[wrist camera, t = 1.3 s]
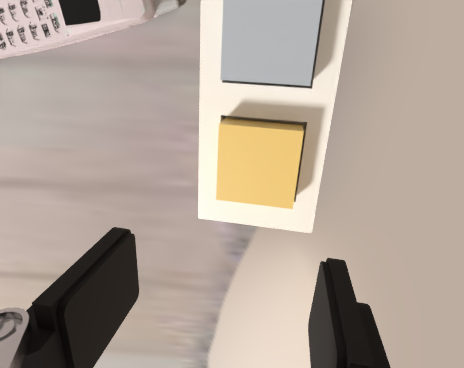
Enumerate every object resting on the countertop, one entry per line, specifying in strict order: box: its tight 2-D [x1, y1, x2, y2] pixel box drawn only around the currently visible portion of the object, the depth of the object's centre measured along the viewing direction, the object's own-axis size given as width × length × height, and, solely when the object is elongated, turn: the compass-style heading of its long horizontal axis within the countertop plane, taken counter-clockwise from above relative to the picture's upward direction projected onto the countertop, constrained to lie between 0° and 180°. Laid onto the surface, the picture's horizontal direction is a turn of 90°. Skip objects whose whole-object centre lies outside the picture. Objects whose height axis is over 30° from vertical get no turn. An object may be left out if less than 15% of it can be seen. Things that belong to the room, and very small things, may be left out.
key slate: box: [220, 0, 323, 86], centre depth 20 cm, size 6×6×2 cm
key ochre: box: [216, 118, 304, 209], centre depth 24 cm, size 6×6×2 cm
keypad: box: [198, 0, 352, 233], centre depth 22 cm, size 30×10×3 cm, turn 177°
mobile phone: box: [0, 0, 180, 59], centre depth 24 cm, size 6×6×25 cm
